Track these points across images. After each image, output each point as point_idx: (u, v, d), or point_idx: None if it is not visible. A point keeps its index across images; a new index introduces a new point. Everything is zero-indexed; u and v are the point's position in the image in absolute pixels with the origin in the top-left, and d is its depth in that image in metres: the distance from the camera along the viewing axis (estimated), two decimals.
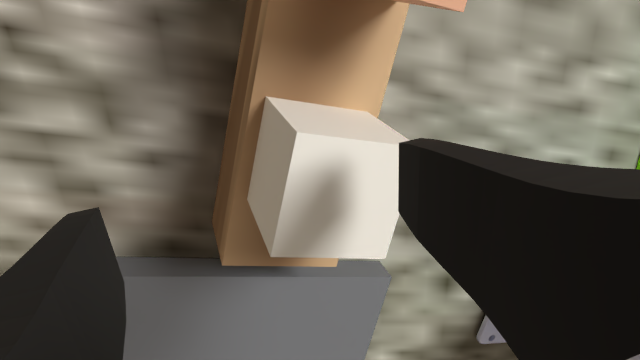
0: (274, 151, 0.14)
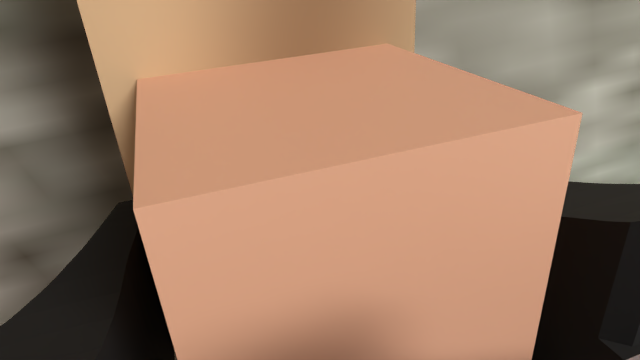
0: None
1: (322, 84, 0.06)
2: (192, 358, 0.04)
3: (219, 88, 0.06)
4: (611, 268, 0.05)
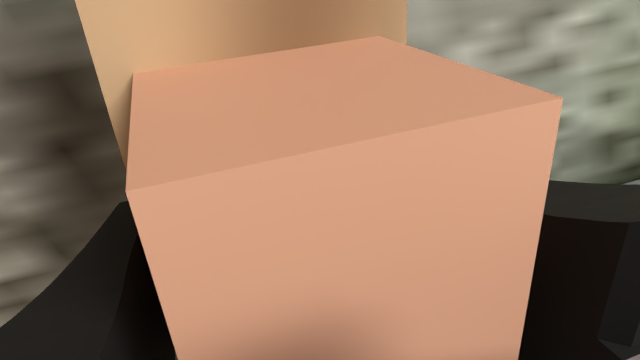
0: None
1: (312, 75, 0.06)
2: (186, 338, 0.04)
3: (212, 80, 0.06)
4: (610, 269, 0.05)
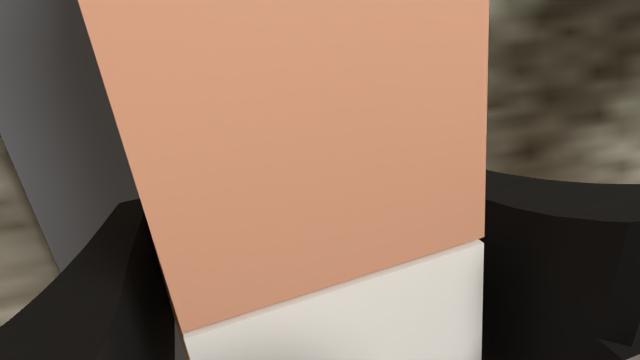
0: None
1: None
2: (130, 122, 0.04)
3: None
4: (610, 268, 0.05)
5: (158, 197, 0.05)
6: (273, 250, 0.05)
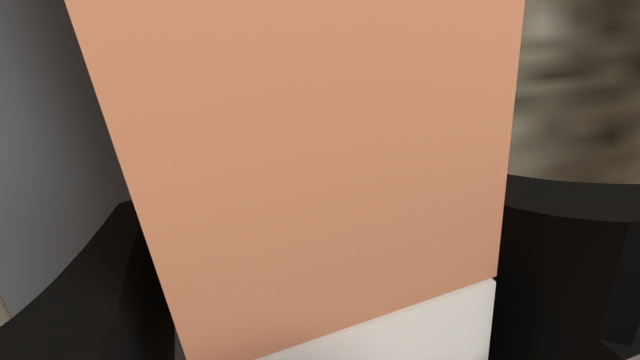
0: None
1: None
2: (142, 186, 0.04)
3: None
4: (610, 268, 0.05)
5: (171, 257, 0.04)
6: (286, 300, 0.05)
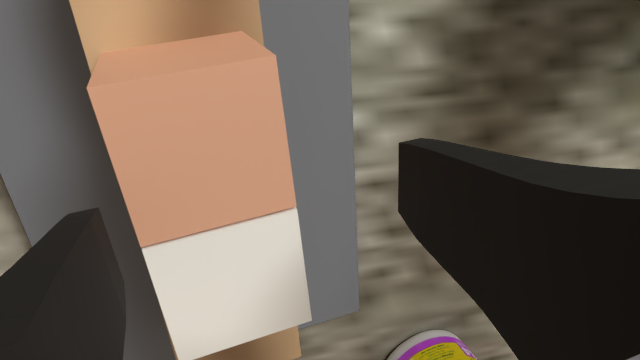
0: None
1: (186, 50, 0.12)
2: (115, 155, 0.10)
3: (138, 54, 0.12)
4: None
5: (128, 186, 0.10)
6: (183, 210, 0.11)
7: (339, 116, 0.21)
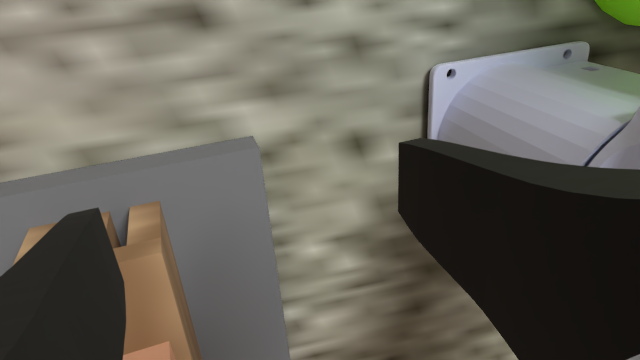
0: None
1: None
2: None
3: None
4: None
5: None
6: None
7: (272, 327, 0.24)
